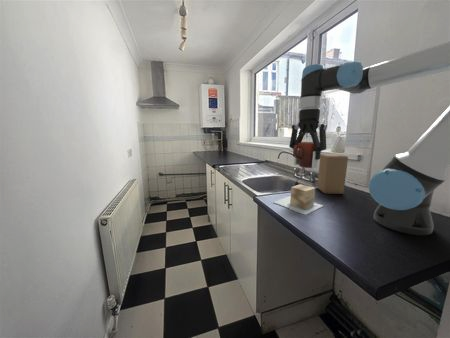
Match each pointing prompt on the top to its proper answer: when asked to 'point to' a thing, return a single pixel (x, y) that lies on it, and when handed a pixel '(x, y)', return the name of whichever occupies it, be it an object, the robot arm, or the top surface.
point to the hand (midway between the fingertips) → (305, 165)
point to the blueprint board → (286, 203)
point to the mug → (304, 154)
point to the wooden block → (332, 173)
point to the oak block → (302, 196)
